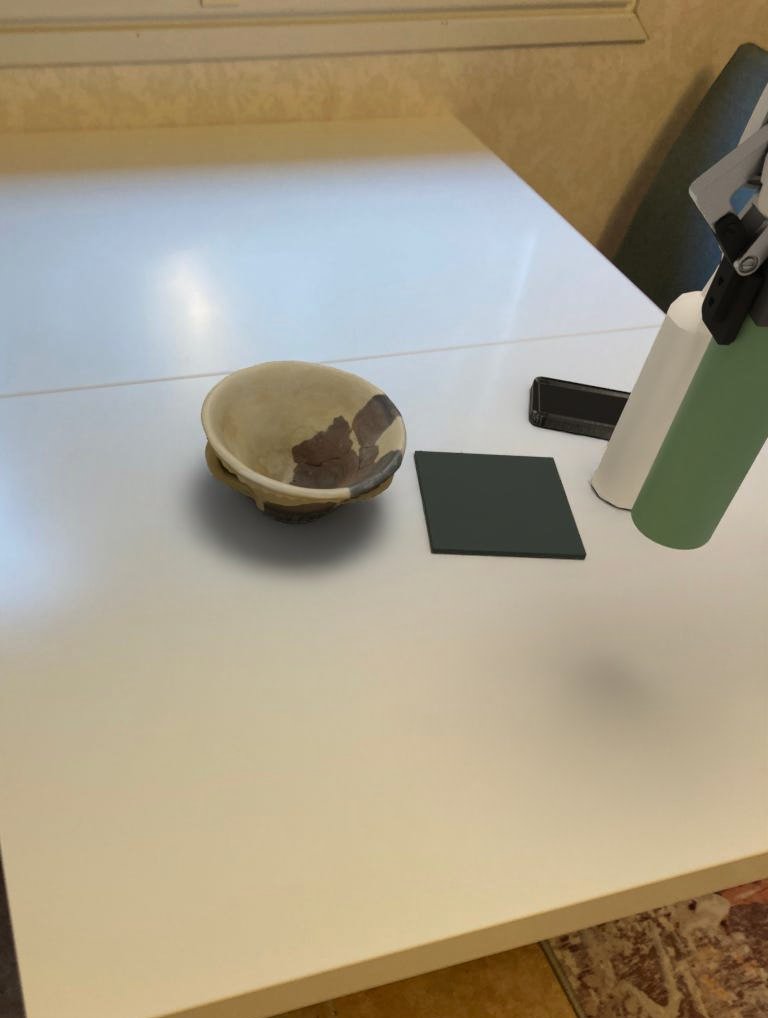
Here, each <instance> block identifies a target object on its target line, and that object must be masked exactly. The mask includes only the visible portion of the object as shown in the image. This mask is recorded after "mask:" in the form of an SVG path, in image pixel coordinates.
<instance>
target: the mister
mask: <svg viewBox="0 0 768 1018" xmlns="http://www.w3.org/2000/svg"><path fill="white" fill-rule="evenodd" d="M763 223H764V222H763ZM763 223H762V224H763ZM758 229H759V228H758ZM754 234H755V233H754ZM754 234H753V235H754ZM750 239H751V238H750ZM757 272H758V274H759V275H760V276H761V277H762V285H761V287H760V289H759V291H758V293H757V296H756V298H755V300H754V302H753V304H752V306H751V308H750V310H749V312H748V314H747V316H746V318H745V320H744V322H743V324H742V326H741V328H740V330H739V332H738V334H737V336H736V339H735V340H734V342H733V343H731V344H730V345H718V344H717V342H716V341H715V339H714V338H713V336H712V338H711V340H710V342H709V344H708V346H707V349H706V351H705V353H704V355H703V357H702V359H701V361H700V364H699V366H698V368H697V370H696V372H695V374H694V376H693V379H692V381H691V383H690V385H689V387H688V389H687V391H686V394H685V396H684V398H683V400H682V402H681V404H680V406H679V409H678V411H677V413H676V415H675V417H674V419H673V421H672V424H671V426H670V428H669V430H668V432H667V434H666V436H665V439H664V441H663V443H662V445H661V447H660V449H659V451H658V454H657V456H656V458H655V460H654V462H653V464H652V466H651V469H650V471H649V473H648V475H647V477H646V479H645V481H644V484H643V486H642V488H641V490H640V492H639V494H638V496H637V499H636V501H635V503H634V505H633V507H632V509H630V510H631V512H630V515H631V521H632V522H633V524H634V526H635V527H636V529H637V530H638V532H640V534H642V535H643V536H644V537H646V538H647V539H648V540H650V541H652V542H654V543H656V544H658V545H660V546H662V547H666V548H669V549H673V550H679V551H680V550H681V551H690V550H695V549H696V550H697V549H699V548H702V547H703V546H705V545H706V544H707V543H709V541H710V540H711V538H712V536H713V535H714V533H715V532H716V530H717V527H718V526H719V524H720V523H721V521H722V519H723V517H724V515H725V514H726V512H727V510H728V508H729V506H730V505H731V503H732V501H733V500H734V498H735V496H736V494H737V492H738V491H739V489H740V487H741V486H742V483H743V482H744V481H745V479H746V477H747V475H748V473H749V471H750V470H751V468H752V466H753V465H754V463H755V461H756V459H757V458H758V456H759V454H760V452H761V451H762V448H763V447H764V445H765V443H766V441H767V439H768V257H767V259H766V260H765V261H764V262H763V263H762V265H761V266H760V267H759V268H758V269H757Z"/></svg>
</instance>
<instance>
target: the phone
mask: <svg viewBox="0 0 768 1018" xmlns="http://www.w3.org/2000/svg"><path fill="white" fill-rule="evenodd" d="M631 392H632V391H631ZM631 392H630V391H626V390H619V389H614V388H609V387H603V386H597V385H593V384H587V383H582V382H581V383H580V382H576V381H570V380H565V379H560V378H553V377H549V376H543V375H542V376H536V377H534V379H533V381H532V384H531V387H530V396H529V397H530V398H529V414H528V415H529V417H528V418H529V421H530V422H531V423H532V425H533V424H534V425H535V426H538V427H542V428H548V429H554V430H559V431H563V432H568V433H575V434H581V435H585V436H591V437H595V438H601V439H607V440H610V439H611V436H612V434H613V432H614V430H615V427H616V425H617V423H618V421H619V419H620V416H621V414H622V412H623V410H624V407H625V405H626V403H627V401H628V399H629V396H630V394H631Z"/></svg>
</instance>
